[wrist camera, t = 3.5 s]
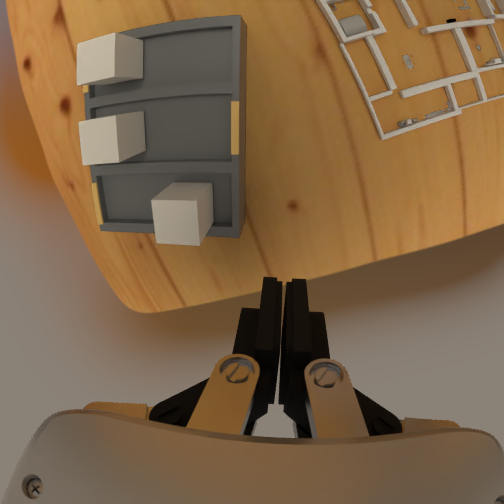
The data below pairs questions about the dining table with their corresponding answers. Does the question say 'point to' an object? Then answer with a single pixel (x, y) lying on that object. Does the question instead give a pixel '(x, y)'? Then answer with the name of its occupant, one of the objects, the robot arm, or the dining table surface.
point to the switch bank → (178, 123)
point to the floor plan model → (357, 29)
